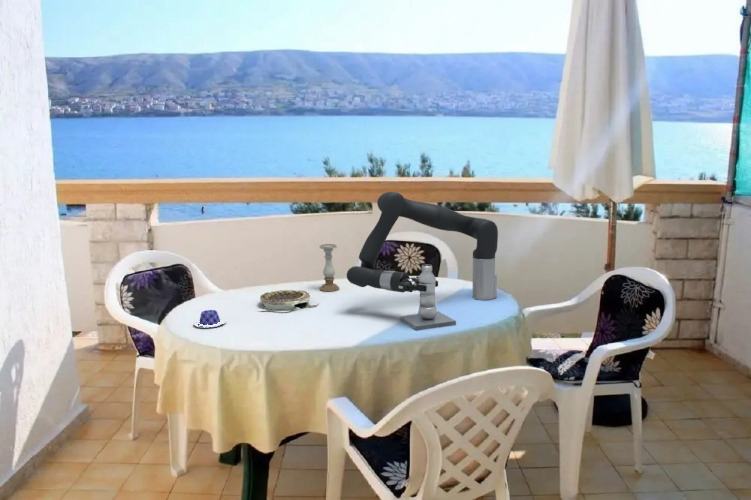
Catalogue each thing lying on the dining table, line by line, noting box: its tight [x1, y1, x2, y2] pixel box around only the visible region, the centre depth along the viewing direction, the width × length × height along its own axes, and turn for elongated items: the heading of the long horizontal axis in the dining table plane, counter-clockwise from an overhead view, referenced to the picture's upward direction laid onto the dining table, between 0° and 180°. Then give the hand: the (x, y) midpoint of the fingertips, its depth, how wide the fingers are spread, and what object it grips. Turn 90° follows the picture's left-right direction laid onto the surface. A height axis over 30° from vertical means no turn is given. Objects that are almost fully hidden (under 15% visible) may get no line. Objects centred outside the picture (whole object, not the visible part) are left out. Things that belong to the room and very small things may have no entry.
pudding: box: [199, 309, 221, 325], centre depth 242 cm, size 12×12×5 cm
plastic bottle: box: [418, 263, 438, 319], centre depth 237 cm, size 6×7×20 cm
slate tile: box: [399, 310, 457, 331], centre depth 239 cm, size 16×14×2 cm
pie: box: [259, 289, 318, 314], centre depth 270 cm, size 28×27×5 cm
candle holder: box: [319, 243, 340, 293], centre depth 291 cm, size 9×9×20 cm
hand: (432, 286), depth 236 cm, fingers open, 8 cm apart
